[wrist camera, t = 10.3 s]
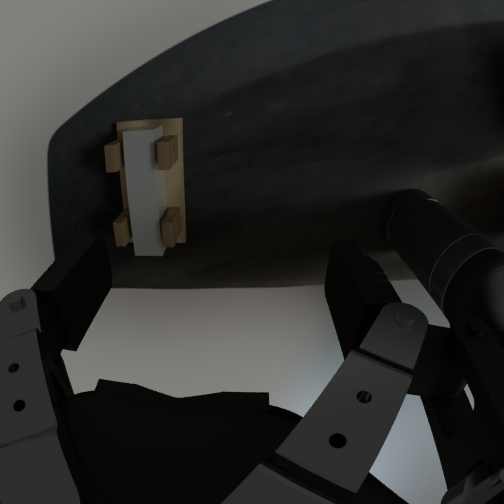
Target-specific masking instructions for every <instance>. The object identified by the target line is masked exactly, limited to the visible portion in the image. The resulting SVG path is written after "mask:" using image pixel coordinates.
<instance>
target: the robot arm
mask: <svg viewBox="0 0 504 504" xmlns="http://www.w3.org/2000/svg"><path fill="white" fill-rule="evenodd" d="M382 228H383V233H384V236H385V238H386V239H387V241H388V242H389V243H390V245H391V246H392V247H393V248H394V250H395V251H396V252H397V253H398V255H399V256H400V257H401V258H402V260H403V261H404V262H405V263H406V265H407V266H408V267H409V268H410V270H411V271H412V272H413V274H414V275H415V276H416V277H417V279H418V280H419V281H420V283H421V284H422V285H423V287H424V288H425V289H426V291H427V292H428V293H429V295H430V296H431V297H432V298H433V300H434V301H435V303H436V304H437V305H438V307H439V308H440V309H441V311H442V312H443V314H444V315H445V317H446V318H447V320H448V321H449V323H450V328H446V327H440V326H435V325H430V324H428V320H427V318H426V316H425V315H424V313H422V311H420V310H419V309H418V308H416V307H414V306H412V305H410V304H406V303H402V301H401V300H400V298H399V296H398V295H397V293H396V291H395V289H394V288H393V286H392V284H391V283H390V281H388V278H387V276H386V275H385V274H384V271H383V270H382V268H381V267H380V265H379V263H377V262H376V261H375V260H373V259H372V258H371V257H369V256H363V255H362V253H361V251H360V250H359V248H358V246H357V245H356V243H355V242H354V241H333V242H332V244H331V248H330V254H329V260H328V266H327V272H326V278H325V297H326V300H327V303H328V306H329V310H330V313H331V316H332V319H333V322H334V326H335V329H336V333H337V336H338V339H339V342H340V346H341V350H342V353H343V357H344V362H343V363H342V365H341V366H340V368H339V369H338V371H337V372H336V374H335V375H334V376H333V378H332V379H331V381H330V382H329V383H328V385H327V386H326V388H325V389H324V390H323V392H322V393H321V395H320V396H319V397H318V399H317V400H316V401H315V403H314V404H313V405H312V407H311V408H310V409H309V411H308V412H307V413H306V414H305V416H304V417H301V416H299V415H298V414H296V413H293V412H291V411H289V410H286V409H282V408H280V407H276V406H272V405H269V393H268V392H267V393H266V392H265V393H264V392H262V393H261V392H260V393H257V392H255V393H254V392H219V393H212V394H206V395H199V396H192V397H184V398H176V397H172V396H169V395H166V394H163V393H159V392H157V391H153V390H151V389H148V388H145V387H143V386H140V385H137V384H130V383H123V382H116V381H110V380H104V379H99V381H98V383H97V386H96V388H95V391H87V392H82V393H78V394H74V392H73V389H72V386H71V383H70V380H69V377H68V374H67V371H66V367H65V364H64V361H63V358H62V356H61V354H60V353H61V351H62V350H63V349H65V350H71V351H77V348H78V347H79V345H80V343H81V341H82V339H83V337H84V336H85V334H86V332H87V330H88V328H89V326H90V324H91V323H92V321H93V319H94V317H95V315H96V314H97V312H98V310H99V308H100V307H101V305H102V303H103V301H104V299H105V298H106V296H107V294H108V293H109V291H110V289H111V285H112V272H111V267H110V262H109V258H108V253H107V247H106V242H105V239H104V237H103V236H99V235H83V236H82V237H81V238H80V239H79V240H78V241H77V242H76V243H75V244H74V245H73V246H72V247H71V248H70V249H69V250H67V251H66V252H64V253H62V254H61V255H60V256H59V257H58V258H57V259H56V260H55V261H54V262H53V264H51V265H50V267H49V268H48V269H47V271H45V272H44V273H43V275H42V276H41V277H40V278H39V279H38V280H37V282H36V283H35V284H34V285H33V286H32V287H31V289H20V290H17V291H14V292H11V293H10V294H8V295H6V296H5V297H4V298H3V299H2V300H1V301H0V504H409V503H407V502H406V501H405V500H403V499H402V498H401V497H399V496H398V495H397V494H396V493H394V492H393V491H392V490H391V489H389V488H388V487H387V486H385V485H384V484H383V483H381V482H380V481H379V480H378V479H377V478H376V477H374V476H373V475H372V474H371V473H369V470H370V469H371V467H372V465H373V463H374V461H375V459H376V458H377V456H378V454H379V452H380V449H381V448H382V446H383V444H384V442H385V440H386V438H387V436H388V434H389V431H390V430H391V427H392V425H393V423H394V421H395V419H396V417H397V414H398V412H399V410H400V408H401V405H402V403H403V401H404V398H405V396H406V394H411V395H418V396H420V397H421V400H422V403H423V406H424V409H425V412H426V415H427V418H428V421H429V424H430V427H431V431H432V434H433V437H434V441H435V444H436V448H437V451H438V455H439V458H440V462H441V466H442V469H443V473H444V477H445V481H446V485H447V489H448V491H447V492H446V493H445V495H444V496H443V498H442V500H441V504H504V253H503V252H502V251H501V250H500V249H499V248H497V247H496V246H495V245H494V244H493V243H492V242H490V241H489V240H488V239H487V238H485V237H484V236H483V235H482V234H480V233H479V232H478V231H477V230H475V229H474V228H473V227H472V226H470V225H469V224H468V223H467V222H465V221H464V220H463V219H461V218H460V217H459V216H457V215H456V214H455V213H453V212H452V211H451V210H449V209H448V208H447V207H445V206H444V205H443V204H441V203H440V202H439V201H437V200H436V199H434V198H433V197H432V196H430V195H429V194H427V193H426V192H424V191H421V190H416V189H413V190H407V191H404V192H402V193H400V194H399V195H397V196H396V197H395V198H394V199H393V200H392V201H391V202H390V204H389V205H388V206H387V208H386V210H385V213H384V216H383V222H382ZM466 384H468V386H469V388H470V390H471V393H472V395H473V398H474V410H473V409H472V407H471V404H470V402H469V399H468V397H467V395H466V393H465V390H464V388H465V386H466Z"/></svg>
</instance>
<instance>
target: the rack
mask: <svg viewBox="0 0 504 504" xmlns="http://www.w3.org/2000/svg"><path fill="white" fill-rule="evenodd" d="M159 125H162V126H163V139H161V140H160V141H158V142H157V153H158V170H164V178H165V195H166V210H167V215H166V217H165V218H164V220H163V222H162V229H163V240H164V247H175V244H176V243H186V240H187V237H186V220H185V199H184V172H183V117H182V118H160V119H144V120H131V121H120V122H117V140H115V141H113V142H111V143H109V144H107V145H105V146H104V149H105V161H106V172H117V171H118V170H120V179H121V190H122V199H123V208H124V211H123V212H122V213H121V214H120V215H119V216H118V217H117V219H116V220H115V221H114V222H113V228H114V234H115V240H116V246H126V245H127V243H128V242H133V235H132V228H131V220H130V212H129V203H128V194H127V184H126V173H125V160H124V145H123V131H126V130H128V129H131V128H133V127H143V126H159Z"/></svg>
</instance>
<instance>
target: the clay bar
mask: <svg viewBox="0 0 504 504" xmlns="http://www.w3.org/2000/svg"><path fill="white" fill-rule="evenodd" d="M161 139H163V126H162V125H159V126H143V127H133V128H131V129H128V130H126V131H123V145H124V160H125V173H126V184H127V194H128V203H129V212H130V220H131V228H132V235H133V242H134V249H135V256H163V254H164V252H165V249H166V247H164V240H163V229H162V222H163V220H164V218H165V217H166V215H167V210H166V195H165V178H164V170H158V153H157V142H158V141H160V140H161Z"/></svg>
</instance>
